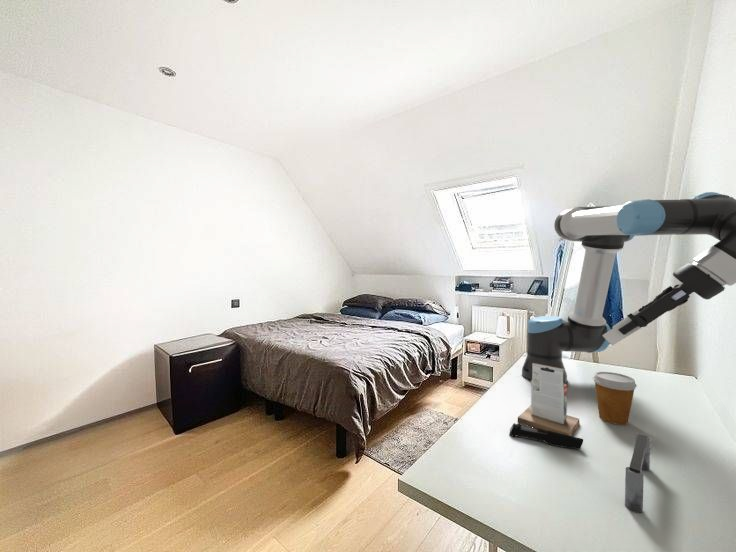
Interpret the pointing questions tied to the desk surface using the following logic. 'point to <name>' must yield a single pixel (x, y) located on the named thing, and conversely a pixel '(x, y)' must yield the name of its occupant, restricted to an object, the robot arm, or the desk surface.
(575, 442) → the electric trimmer
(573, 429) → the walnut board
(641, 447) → the dark grey cabinet handle
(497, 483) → the desk surface
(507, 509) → the desk surface
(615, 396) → the disposable coffee cup
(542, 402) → the ink box
